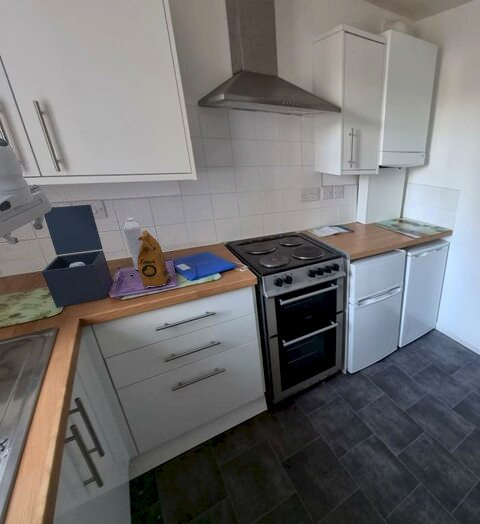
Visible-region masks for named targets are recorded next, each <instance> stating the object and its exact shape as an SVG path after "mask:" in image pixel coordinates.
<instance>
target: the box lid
mask: <svg viewBox="0 0 480 524" xmlns="http://www.w3.org/2000/svg"><path fill="white" fill-rule="evenodd" d="M93 211H94V210H93V207H92V204H79V205H77V204H76V205H63V206H52V209H51V211H50V212H48V213H46V214H44V215H43V216H44V220H45V224H46V226H47V230H48V233H49V236H50V239H51V242H52V243H51V244H52V246H53V249H54V252H55V255H56V256H62V255H70V254H78V253H86V252H94V251H102V250H104V249H103V244H102V241H101V237H100V234H99V230H98V226H97V223H96V222H97V221H96V219H95V215H94V212H93Z"/></svg>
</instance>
